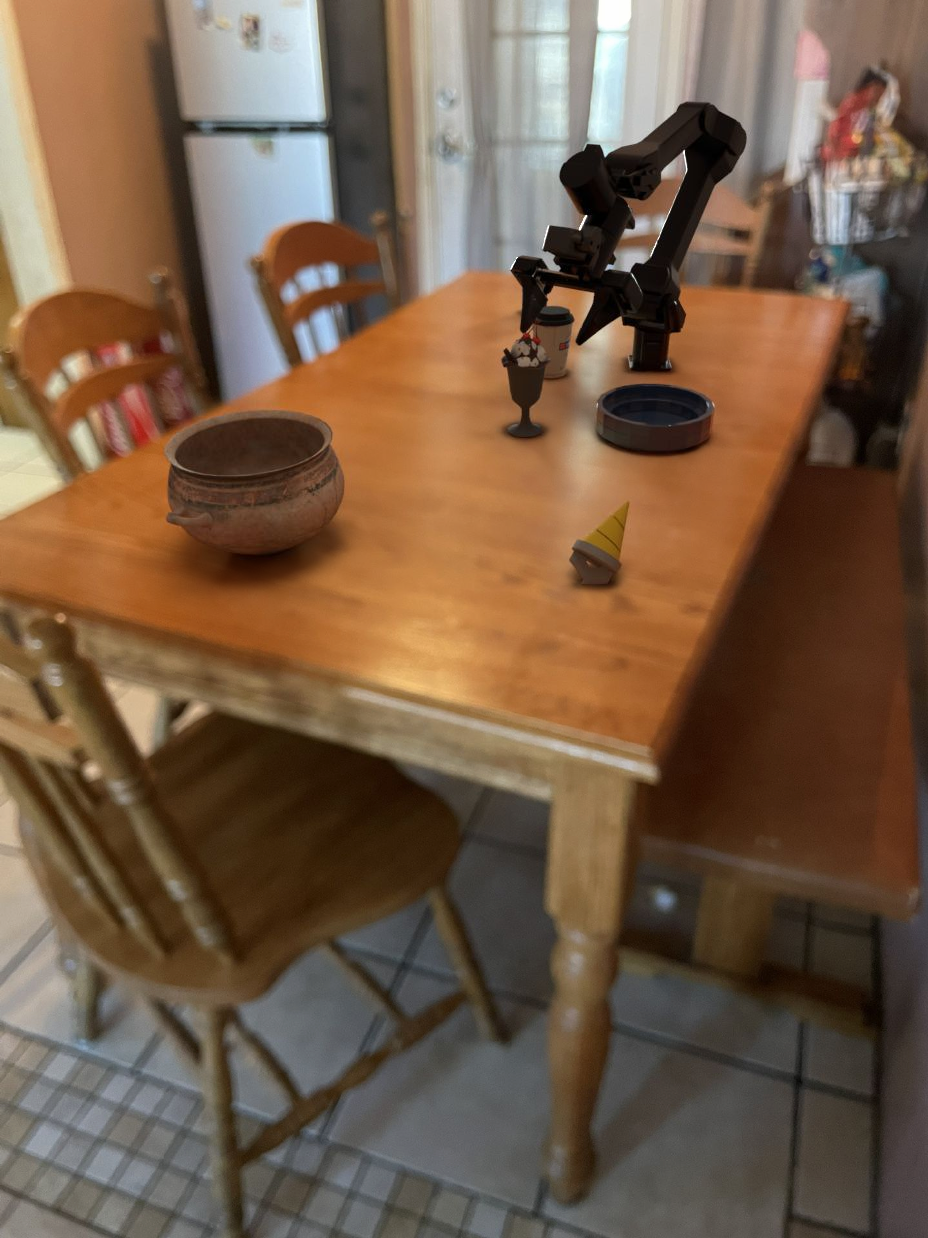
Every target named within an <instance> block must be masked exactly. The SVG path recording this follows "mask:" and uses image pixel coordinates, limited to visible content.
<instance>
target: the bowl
mask: <svg viewBox="0 0 928 1238" xmlns="http://www.w3.org/2000/svg"><path fill="white" fill-rule="evenodd" d="M715 411H716V407H715V404H714V402H713V400H712V399H711V398H709V397H708V396H707V395H705V394H704V393H701V392H700V391H697V390H694V389H693V388H687V387H683V386H679V385H675V384H667V383H666V384H665V383H636V384H635V383H633V384H628V385H626V384H625V385H622V386H618V387H614V388H611V389H609V390H607V391H605V392H603V393H601V394H600V395H599V397H598V398H597V399H596V406H595V420H594V421H595V431H596V432H597V433H598V434H599V435H600V436H601V437H602V438H603V439H605V440H607V441H609V442H610V443H612V444H613V445H615V446H618V447H620V448H623V449H627V450H631V451H635V452H642V453H651V454H652V453H653V454H657V453H659V454H660V453H661V454H662V453H664V454H665V453H673V452H680V451H685V450H688V449H690V448H692V447H695V446H698V445H700V444H701V443H703V442H705V441H706V440H707V439H709V438H710V436H711V434H712V432H713V426H714V417H715Z"/></svg>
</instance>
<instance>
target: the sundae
mask: <svg viewBox="0 0 928 1238" xmlns="http://www.w3.org/2000/svg"><path fill="white" fill-rule="evenodd" d="M536 322H537V325H538V323H539V322H540V320H536V321H535V324H536ZM535 324H534V326H535ZM534 326H533V328H534ZM533 328H532V327H531V329H529V330H528V331H527V332H526V333H524V334H522V335H521V337H520V338H519V339H516V340H515V341H514V342H513V344H512V345H511V347H510V350H509V349H508V347H505V348H504V349H502V351H503V354H504V355H503V356H502V357H501V365H502V367H503V368H506V372H507V378H508V386H509V392H510V397H511V400H512V401H513V403H515V404H516V405H517V406H518V407H519V408H520V409H521V416H520V421H519V422H518V423H513V424H511V425H510V426H509V427H508V428H507V433H508V434H509V435H511V436H514V437H516V438H533V437H537V436H539V435H542V433H543V432H544V428H543V427H542V426H541V425H540V424H537V423H533V422H532V420H531V416H530V413H531V411H530V410H531V407H532V406H534V405H535V404H536V403H537V402H538V401H539V400H540V399H541V394H542V391H543V384H544V373H545V367H546V365H547V364H548V363H549V362H550V361H551V359H550V358H548V357H547V356H546V352H545V350H544V348H543V347H542V346H541V345H539V344H540V342H541V339H540V338H539V337H538V336H537V326H536V337H533V336H532V337H531V334H530V333H532V329H533Z"/></svg>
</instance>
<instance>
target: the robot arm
mask: <svg viewBox="0 0 928 1238" xmlns="http://www.w3.org/2000/svg"><path fill="white" fill-rule="evenodd" d="M747 135H748V134H747V131H746V130H745V129H744V127H743V125H742V123H741V122H740V121H738V120H737V119H736V118H734V117H732V116H730V115H728V114H726V113H724V112H722V111H721V110H719V109H718V108H717V107H716V105H715V104H712V103H711V102H709V101H688V100H687V101H684V102H682V103H680V104H678V106H677V108H676V110H675V112H674V113H672V114H671V115H670V116H669V117H667V118H666V119H665V120H664V121H663V122H662V123H660V124H659V125H658V126H657V127H656V128H655V129H653V131H651V132H650V133H649V134H648V135H646V136H645V137H644V138H643V139H642V140H640V141H639V142H636V143H631V144H627V145H623V146H620V147H617V148H616V149H614V150H612V151H610V152H608V153H607V154H606V155H605V153H604V149H603V147H602V146H601V144H596V143H586V145H585V147H584V149H583V150H581V151H579V152H577V153H575V154H572V156H571V157H569V158H568V159H567V160H566V161H565V162H563V163H562V165H561V167H560V170H559V173H558V174H559V175H558V177H559V182H560V183H561V185H562V187H563V189H564V190H565V192H566V194H567V196H568V197H569V199H570V201H571V203H572V204H573V206H574V208H575V210H576V212H578V213H579V214H580V215H581V216H584V218H583V220H582V222H581V224H580V226H579V228H578V229H577V228H573V227H568V226H559V225H551V224H549V225H548V226H547V228H546V233H545V237H544V241H543V244H542V248H541V250H542V252H544V253H547V252H548V253H549V254H551V255H553V256H554V257H553V259H552V262H553V263H554V264H555V265H556V266H558V267H559V270H552V269H550V268H549V267H548V265H547V264H546V262H545V261H544V259H543V258H542V257H537V256H529V255H523V254H522V255H519V256H516V258H515V260H514V262H513V264H511V266H510V267H511V268H510V270H509V271H510V272H511V274H512V275H513V277H514V278H515V280H516V281H517V283H518V284H519V285H520V287H521V290H522V289H523V304H522V303H521V315H520V322H519V323H520V325H519V331H520V333H521V334H522V335H523V334H524V333H528V332H529V331H530V330H531V329H530V328H532V324H533V323H534V321H535V320H536V318H537V317H538V315H539V314H540V312H541V311H542V309H543V308H544V306H545V305H546V303H547V304H548V302H549V298H548V295H549V294H551V293H552V291H553V289H554V287H558V288H563V289H568V290H575V291H581V292H587V293H591V294H593V300H592V303H591V306H590V308H589V310H588V311H587V314H586V316H585V318H584V320H583V322H582V324H581V326H580V328H579V330H578V333H577V335H576V337H575V344H576V345H577V346H579V347H580V346H582V345H584V344H585V343H586V342H588V340H590V339H591V338H592V337H594V336H595V335H596V334H597V333H598V332H600V331H601V330H602V329H603V328H604V329H605V327H606V326H608V325H610V324H612V323H613V322H614V321H616V320H617V319H619V318H621V323H622V324H621V325H622V326H624V327H631V328H633V340H632V352H631V353H632V354H629V355H627V359H628V360H627V361H628V365H629V371H631V372H632V371H633V372H649V371H650V372H669V371H672V365H671V364H672V363H671V360H670V358H669V348H670V338H671V334H679V333H681V331H682V329H683V328H684V325H685V322H686V317H687V313H686V311H685V309H684V307H683V305H682V303H681V302H680V301H681V300H680V299H679V298H680V296H681V294H682V293H681V292H682V290H681V289H682V288H681V284H680V276H679V272H680V269H681V267H682V265H683V262H684V259H685V257H686V255H687V253H688V250H689V248H690V245H691V243H692V241H693V238H694V236H695V234H696V231H697V229H698V227H699V224H700V222H701V220H702V217H703V215H704V213H705V210H706V208H707V205H708V203H709V201H710V198H711V196H712V195H713V191H714V189H715V187H716V185H718V184H719V183H720V182H722V180H724V179H725V178H726V177H728V175H730V174H731V173H732V172H733V171H734V169H735V167H736V165H737V163H738V162H739V160H740V158H741V156H742V155H743V153H744V152H745V150H746V146H747V143H748V141H747V140H748V136H747ZM681 154H683V157H684V163H685V169H686V171H685V174H684V175H683V178H682V181H681V184H680V186H679V188H678V190H677V193H676V195H675V197H674V200H673V202H672V205H671V207H670V209H669V212H668V214H667V216H666V219H665V221H664V223H663V226H662V228H661V231H660V233H659V234H658V237H657V240H656V242H655V244H654V247H653V249H652V251H651V254H650V256H649V257H648V259H647V260H646V261H645V262H643V263H642V262H635V263H633V265H632V266H631V268H630V271H624V270H619V269H612V268H608V269H607V267H608V265H609V266H610V265H611V266H614V265H615V263H616V261H617V257H616V255H615V251H616V250H617V248H618V245H619V243H620V240H621V239H622V236H623V235H624V232H625V231H626V230H631V231H634V230H635V228H636V220H635V217H634V209H633V208H632V207H630V206H629V203H628V202H627V200H632V201H641V202H643V201H646V200H649V198H651V196H652V195H653V193H654V192H655V191H656V189H657V188H658V187H659V186H660V185H661V184H662V172H663V171H664V170H665V168H666V167H668V166H669V165H670V164H672V162H673V161H674V160H675V159H677V157H679V156H680V155H681ZM546 295H547V297H546Z"/></svg>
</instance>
